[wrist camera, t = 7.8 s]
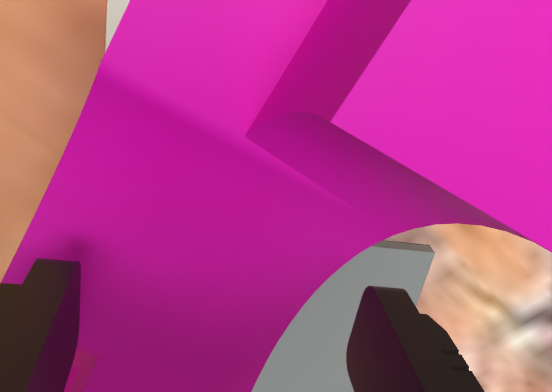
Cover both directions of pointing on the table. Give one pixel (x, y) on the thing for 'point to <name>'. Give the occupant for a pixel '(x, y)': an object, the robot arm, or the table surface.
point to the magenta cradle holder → (281, 167)
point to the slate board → (339, 319)
